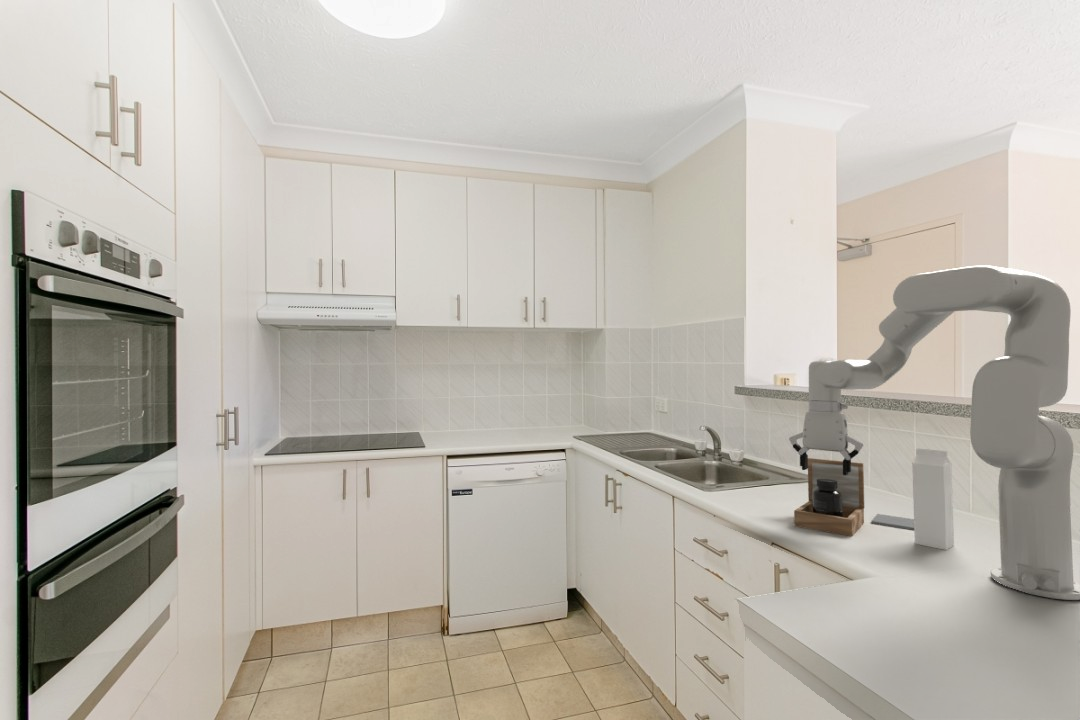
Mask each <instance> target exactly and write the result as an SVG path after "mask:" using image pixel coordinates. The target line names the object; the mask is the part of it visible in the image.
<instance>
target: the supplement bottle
mask: <svg viewBox="0 0 1080 720" xmlns="http://www.w3.org/2000/svg"><path fill="white" fill-rule="evenodd" d="M816 486H817V487H818V488H817V489H815V490H814V491H813V513H819V514H825V515H832V516H838V517H843V507H842V494H841V493H840V492H839V491H837V488H838V486H837V481H836V480H831V479H817V484H816Z"/></svg>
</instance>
